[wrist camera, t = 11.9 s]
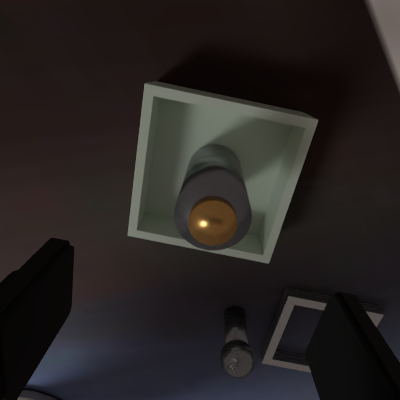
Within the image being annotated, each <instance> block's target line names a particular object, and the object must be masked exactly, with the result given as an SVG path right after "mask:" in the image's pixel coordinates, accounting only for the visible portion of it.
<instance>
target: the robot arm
mask: <svg viewBox="0 0 400 400" xmlns="http://www.w3.org/2000/svg"><path fill="white" fill-rule="evenodd" d="M73 264H74V246H71V245H70V243H69V241H67V240H61V239H56V238H51V239H49V240H48V241H47V242H46V243H45V244H44V245H43V246H42V247H41V248H40V249H39V250H38V251H37V252H36V253H35V254H34V255H33V256H32V257H31V258H30V259H29V260H28V261H27V262H26V263H25V264H24V265H23V266H22V267H21V268H20V269H19V270H18V271H17V270H16V271H13V272H12V273H10V274H9V275H8V276H7V277H6V278H5V279H4V280H3V281H2V282H1V283H0V400H57V399H55V398H53V397H51V396H48V395H45V394H42V393H39V392H34V391H30V390H23V389H24V388H25V386H26V384H27V383H28V381H29V379H30V378H31V376H32V375H33V373H34V371H35V370H36V368H37V366H38V365H39V363H40V361H41V360H42V358H43V357H44V355H45V353H46V352H47V350H48V348H49V347H50V345H51V343H52V342H53V340H54V339H55V337H56V335H57V334H58V332H59V330H60V329H61V327H62V326H63V324H64V322H65V321H66V319H67V317H68V316H69V313H70V310H71V306H72V286H73ZM306 358H307V362H308V365H309V368H310V371H311V374H312V377H313V380H314V383H315V386H316V389H317V392H318V395H319V398H320V400H400V363H399V361H398V359H397V358H396V356H395V355H394V353H393V352H392V350H391V349H390V347H389V346H388V344H387V343H386V341H385V340H384V338H383V337H382V335H381V334H380V332H379V331H378V329H377V328H376V326H375V325H374V323H373V321H372V320H371V318H370V317H369V315H368V314H367V312H366V311H365V309H364V308H363V306H362V305H361V303H360V302H359V300H358V299H357V297H356V296H355V295H351V294H346V293H341V292H337V293H336V294H335V295H331V296H330V298H329V300H328V302H327V304H326V307H325V309H324V311H323V313H322V316H321V318H320V320H319V323H318V325H317V327H316V329H315V332H314V334H313V336H312V338H311V341H310V343H309V345H308V347H307V351H306Z"/></svg>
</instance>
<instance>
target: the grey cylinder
mask: <svg viewBox="0 0 400 400" xmlns="http://www.w3.org/2000/svg"><path fill="white" fill-rule="evenodd" d="M174 220H175V224H176V227H177V229H178V231H179V233H180V234H181V236H182V237H183V238H184V239H185V240H186V241H187V242H189V243H190V244H192V245H193V246H195V247H198V248H200V249H204V250H214V251H215V250H223V249H226V248H229V247H231V246H233V245H235V244H237V243H238V242H239V241H241V240H242V239H243V238H244V236H245V235H246V234H247V232H248V230H249V228H250V225H251V221H252V211H251V206H250V202H249V198H248V194H247V190H246V185H245V181H244V177H243V173H242V169H241V165H240V161H239V159H238V157H237V155H236V154H235V153H234V152H233V151H232V150H231V149H230V148H228V147H226V146H223V145H220V144H209V145H206V146H203V147H201V148H200V149H198V150H197V151H196V152H195V153H194V154H193V155H192V157H191V159H190V161H189V164H188V167H187V171H186V174H185V177H184V180H183V183H182V187H181V190H180V193H179V196H178V199H177V203H176V206H175V210H174Z"/></svg>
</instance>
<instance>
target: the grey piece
mask: <svg viewBox="0 0 400 400" xmlns="http://www.w3.org/2000/svg"><path fill="white" fill-rule="evenodd" d="M329 298H330V296H329V295H324V294H319V293H314V292H309V291H303V290H298V289H293V288H288V287H286V288H285V290H284V293H283V296H282V298H281V301H280V303H279V306H278V308H277V311H276V314H275V316H274V319H273V321H272V324H271V326H270V329H269V332H268V334H267V337H266V339H265V342H264V345H263V347H262V350H261V352H260V355H261V362H262V363H263V364H268V365H273V366H278V367H284V368H289V369H294V370H299V371H305V372H310V373H311V371H310V368H309V365H308V362H307V358H306V356H305V355H299V354H294V353H289V352H284V351H279V350H276V348H277V346H278V344H279V341H280V339H281V336H282V334H283V332H284V329H285V327H286V324H287V322H288V319H289V317H290V315H291V312H292V310H293V307H294V305H298V306H303V307H308V308H314V309H319V310H324V309H325V307H326V304H327V302H328V300H329ZM360 303H361V305H362V306H363V308H364V309H365V311H366V312H367V314H368V315H369V317H370V318H371V320H372V321H373V323H374V325H375V326H376V328H377V326H378V324H379V322H380V321H381V319H382V317H383V315H384V314H383V313H382V311H381V310H380V308H379V307H378V305H374V304H369V303H364V302H360ZM224 320H225V345H224V347H223V348H222V351H221V355H220V360H221V364H222V367H223V369H224V370H225V372H226V373H227V374H229V375H230V376H232V377H235V378H242V377H245V376H247V375H248V374H249V373H250V372H251V371H252V369H253V367H254V364H255V356H254V352H253V350H252V348H251V347H250V345H249V344H248V336H247V326H246V316H245V312H244V310H243V309H242V308H240V307H235V306H234V307H230V308H228V309H227V310H226V311H225V313H224Z"/></svg>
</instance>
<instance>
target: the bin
mask: <svg viewBox="0 0 400 400" xmlns="http://www.w3.org/2000/svg"><path fill="white" fill-rule="evenodd" d="M317 123H318V120H317V119H316V118H314V117H312V116H310V115H308V114H306V113H304V112H300V111H295V110H291V109H286V108H281V107H276V106H272V105H267V104H262V103H257V102H253V101H248V100H243V99H238V98H234V97H229V96H224V95H219V94H215V93H210V92H205V91H200V90H196V89H191V88H186V87H181V86H177V85H172V84H167V83H163V82H158V81H155V82H150V83H145V85H144V94H143V103H142V112H141V121H140V130H139V139H138V148H137V157H136V165H135V174H134V183H133V192H132V201H131V210H130V219H129V228H128V236H132V237H137V238H142V239H147V240H152V241H157V242H162V243H167V244H172V245H177V246H182V247H187V248H192V249H197V250H202V251H207V252H213V253H218V254H223V255H228V256H233V257H238V258H243V259H248V260H253V261H258V262H263V263H268V264H269V262H270V259H271V256H272V253H273V250H274V247H275V245H276V242H277V239H278V236H279V233H280V230H281V227H282V224H283V221H284V219H285V216H286V213H287V210H288V207H289V204H290V201H291V198H292V195H293V193H294V190H295V187H296V184H297V181H298V178H299V175H300V172H301V169H302V167H303V164H304V161H305V158H306V155H307V152H308V149H309V146H310V143H311V141H312V138H313V135H314V132H315V129H316V126H317ZM209 144H220V145H223V146H226V147H228V148H230V149H231V150H232V151H233V152H234V153H235V154H236V155H237V157H238V159H239V161H240V165H241V169H242V173H243V177H244V181H245V185H246V190H247V194H248V198H249V202H250V206H251V211H252V221H251V225H250V228H249V230H248V232H247V234H246V235H245V236H244V238H243V239H242V240H241V241H239V242H238V243H237V244H235V245H233V246H231V247H229V248H226V249H223V250H215V251H214V250H204V249H200V248H198V247H195V246H193V245H192V244H190V243H189V242H187V241H186V240H185V239H184V238H183V237H182V236H181V234H180V233H179V231H178V229H177V227H176V224H175V220H174V210H175V206H176V203H177V199H178V196H179V193H180V190H181V187H182V183H183V180H184V177H185V174H186V171H187V167H188V164H189V161H190V159H191V157H192V155H193V154H194V153H195V152H196V151H197V150H198V149H200V148H201V147H203V146H206V145H209Z"/></svg>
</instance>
